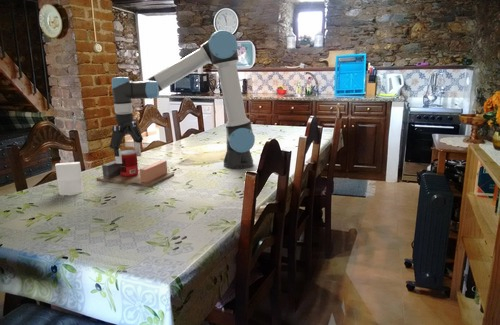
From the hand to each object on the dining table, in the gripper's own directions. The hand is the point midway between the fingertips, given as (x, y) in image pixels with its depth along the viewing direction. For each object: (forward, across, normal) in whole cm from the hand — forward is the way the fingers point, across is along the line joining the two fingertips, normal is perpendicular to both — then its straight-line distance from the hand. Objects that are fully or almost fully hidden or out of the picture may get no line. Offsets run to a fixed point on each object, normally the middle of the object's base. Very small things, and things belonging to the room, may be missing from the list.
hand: (129, 159), depth 170 cm
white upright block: (+8, +25, -10) cm, 28 cm away
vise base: (+8, 0, +3) cm, 9 cm away
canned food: (+7, 0, 0) cm, 7 cm away
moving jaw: (+7, 0, +13) cm, 15 cm away
